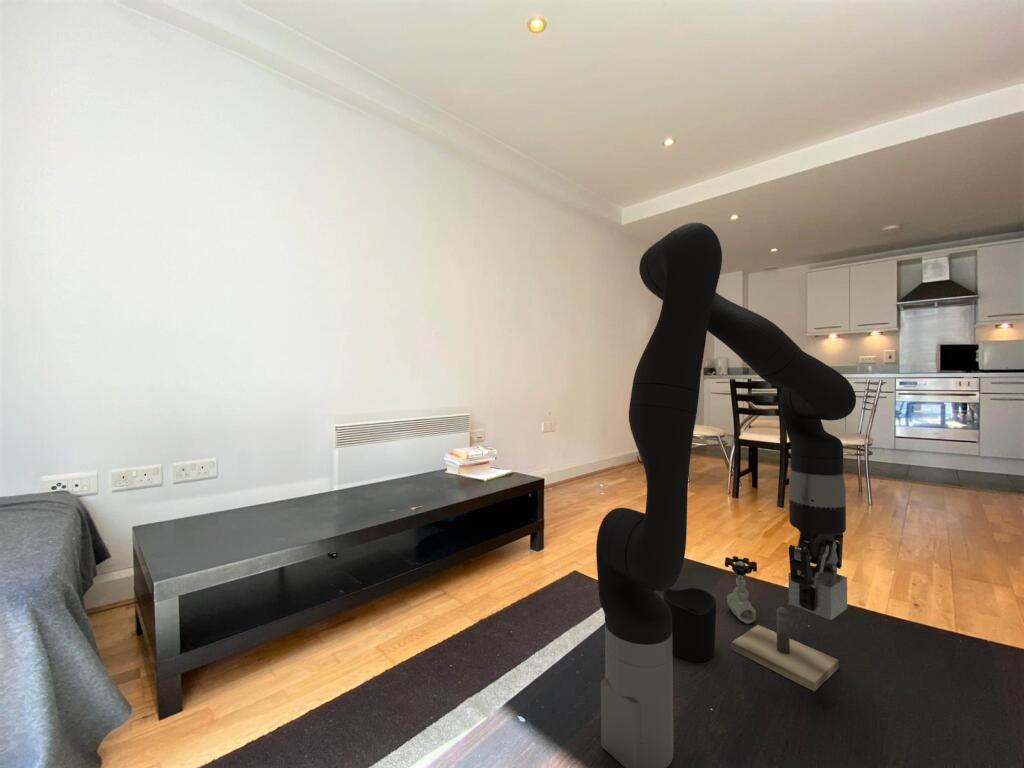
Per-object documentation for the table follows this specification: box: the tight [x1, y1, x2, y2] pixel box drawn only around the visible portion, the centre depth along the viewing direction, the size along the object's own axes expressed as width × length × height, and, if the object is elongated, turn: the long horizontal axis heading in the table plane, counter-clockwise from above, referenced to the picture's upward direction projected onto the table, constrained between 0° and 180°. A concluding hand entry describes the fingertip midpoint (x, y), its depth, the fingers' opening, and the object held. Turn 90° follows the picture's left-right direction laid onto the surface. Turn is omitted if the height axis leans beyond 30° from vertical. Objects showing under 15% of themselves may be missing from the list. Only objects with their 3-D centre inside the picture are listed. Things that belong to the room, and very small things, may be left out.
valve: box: [724, 555, 758, 625], centre depth 96 cm, size 7×7×12 cm
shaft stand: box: [731, 606, 840, 692], centre depth 82 cm, size 10×14×10 cm
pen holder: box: [662, 587, 717, 663], centre depth 85 cm, size 9×9×10 cm
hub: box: [787, 570, 848, 621], centre depth 71 cm, size 6×6×5 cm
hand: (817, 601), depth 71 cm, fingers closed on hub, 6 cm apart
